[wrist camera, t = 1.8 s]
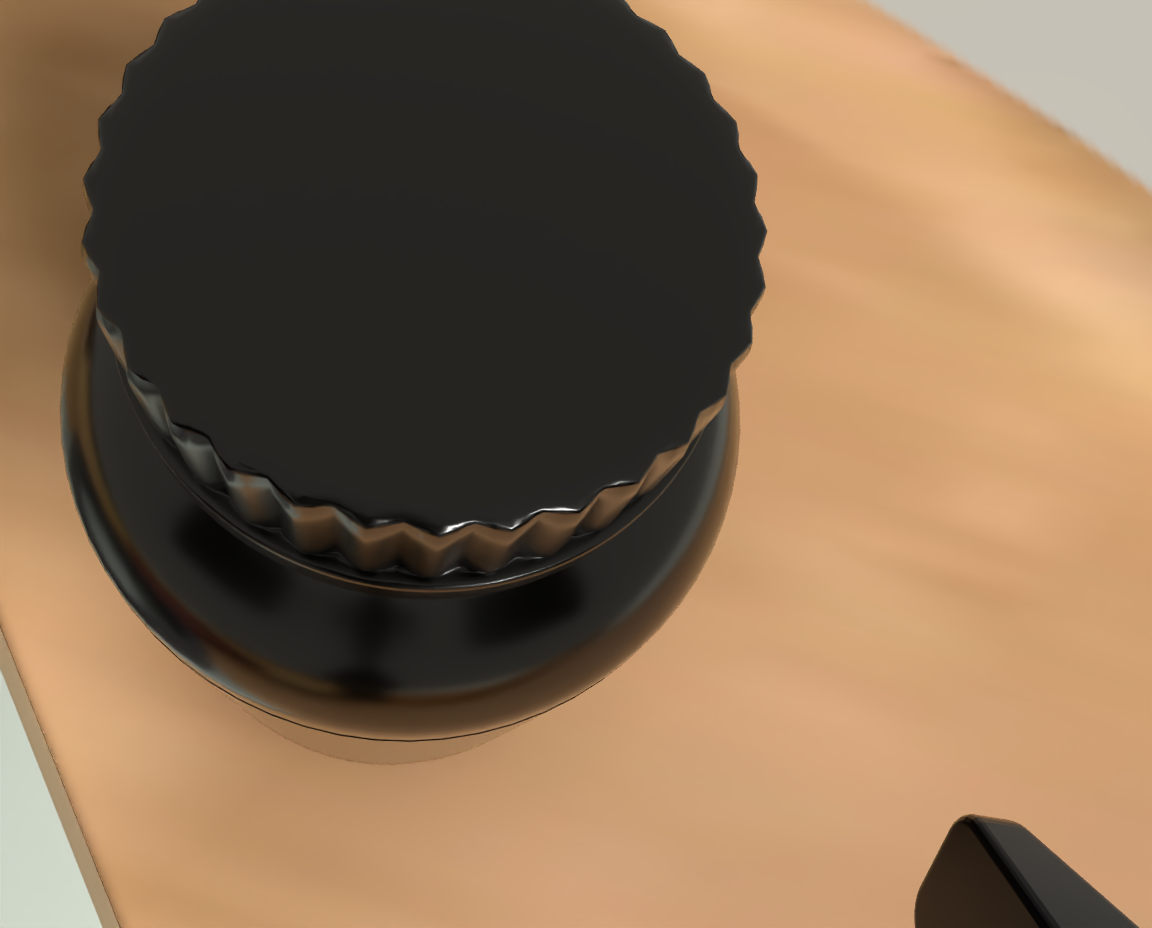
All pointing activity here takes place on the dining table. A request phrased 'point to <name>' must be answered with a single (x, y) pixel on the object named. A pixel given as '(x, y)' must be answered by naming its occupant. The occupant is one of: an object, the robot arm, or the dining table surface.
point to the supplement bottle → (409, 355)
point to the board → (39, 827)
